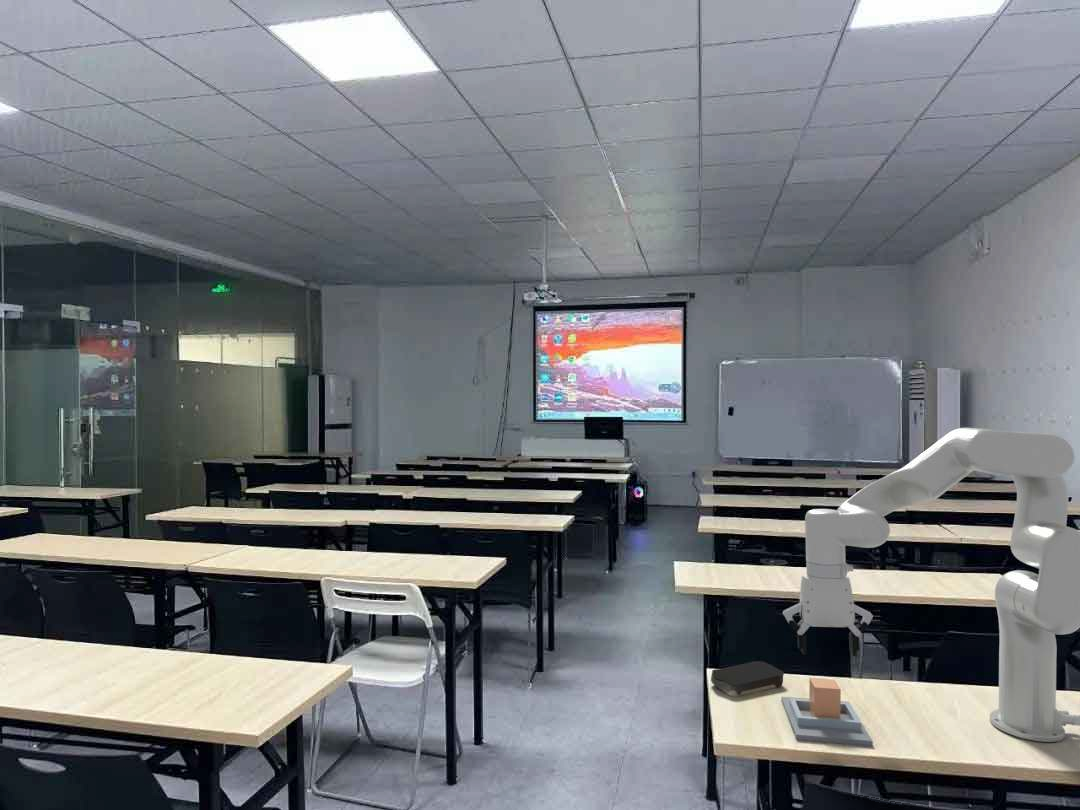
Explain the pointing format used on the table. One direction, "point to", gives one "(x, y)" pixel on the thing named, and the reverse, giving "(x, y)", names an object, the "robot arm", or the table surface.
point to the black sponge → (747, 678)
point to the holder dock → (825, 724)
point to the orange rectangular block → (824, 698)
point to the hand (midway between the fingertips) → (828, 653)
